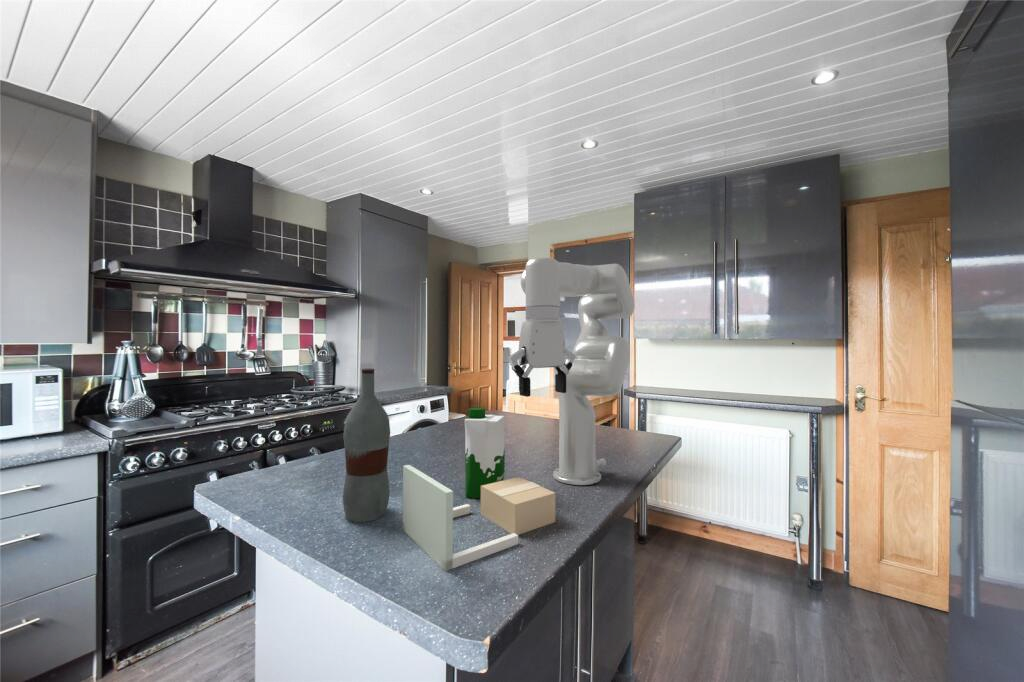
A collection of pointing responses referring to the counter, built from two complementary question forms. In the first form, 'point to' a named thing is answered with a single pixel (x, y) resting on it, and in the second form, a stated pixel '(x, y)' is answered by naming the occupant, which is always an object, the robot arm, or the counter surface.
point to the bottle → (366, 456)
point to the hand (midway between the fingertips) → (543, 394)
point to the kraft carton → (518, 505)
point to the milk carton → (483, 450)
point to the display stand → (439, 521)
